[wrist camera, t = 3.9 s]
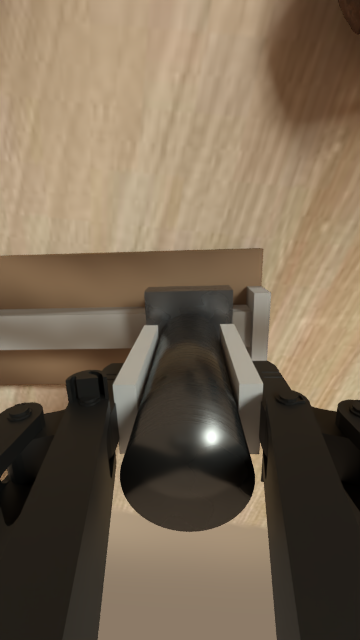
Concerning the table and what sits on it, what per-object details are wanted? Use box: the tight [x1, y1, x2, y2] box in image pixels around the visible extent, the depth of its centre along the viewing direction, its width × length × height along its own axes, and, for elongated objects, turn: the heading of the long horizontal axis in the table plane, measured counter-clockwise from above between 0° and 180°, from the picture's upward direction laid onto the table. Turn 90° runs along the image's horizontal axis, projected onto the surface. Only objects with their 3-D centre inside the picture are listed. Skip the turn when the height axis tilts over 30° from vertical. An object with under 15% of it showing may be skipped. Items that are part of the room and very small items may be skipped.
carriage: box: [120, 285, 255, 532], centre depth 14 cm, size 6×5×14 cm
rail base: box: [0, 248, 271, 385], centre depth 19 cm, size 10×26×7 cm, turn 92°
